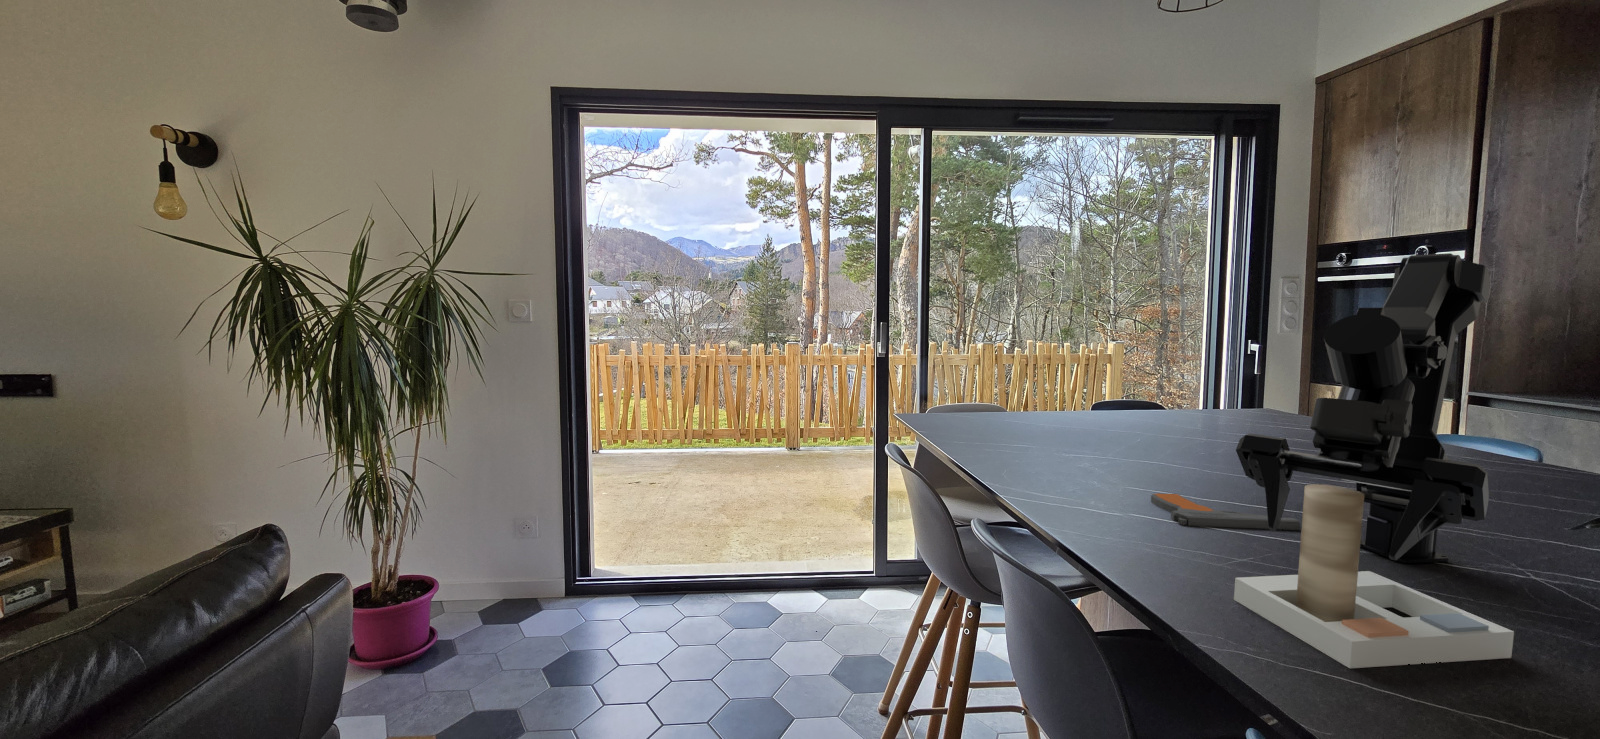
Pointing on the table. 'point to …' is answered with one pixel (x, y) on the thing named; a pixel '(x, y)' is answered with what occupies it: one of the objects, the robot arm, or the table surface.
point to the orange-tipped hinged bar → (1214, 515)
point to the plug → (1329, 552)
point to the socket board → (1379, 624)
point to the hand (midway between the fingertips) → (1328, 542)
